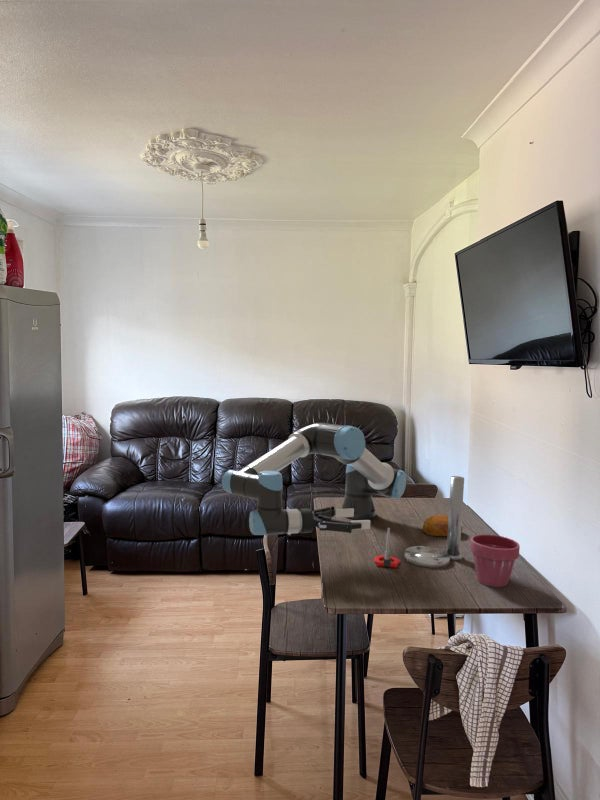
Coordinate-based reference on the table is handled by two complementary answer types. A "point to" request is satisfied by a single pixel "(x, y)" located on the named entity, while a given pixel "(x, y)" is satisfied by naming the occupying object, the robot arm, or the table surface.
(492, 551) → the plant pot
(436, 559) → the paper towel holder
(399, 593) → the table surface
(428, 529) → the croissant
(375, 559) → the tow hook
